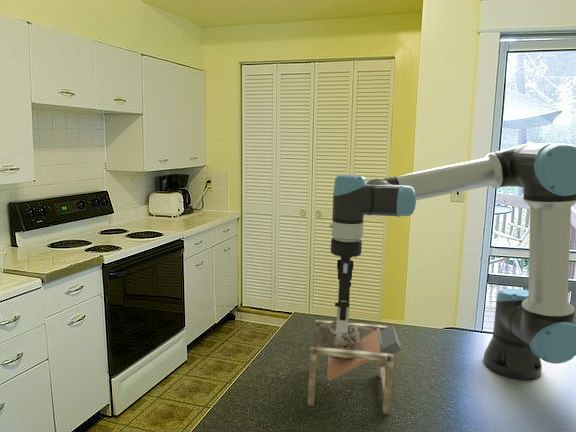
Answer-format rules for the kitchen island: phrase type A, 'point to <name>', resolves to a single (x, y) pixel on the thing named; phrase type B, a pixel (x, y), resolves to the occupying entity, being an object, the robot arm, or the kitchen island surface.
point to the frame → (382, 357)
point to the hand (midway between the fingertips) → (342, 320)
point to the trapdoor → (371, 343)
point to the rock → (338, 337)
